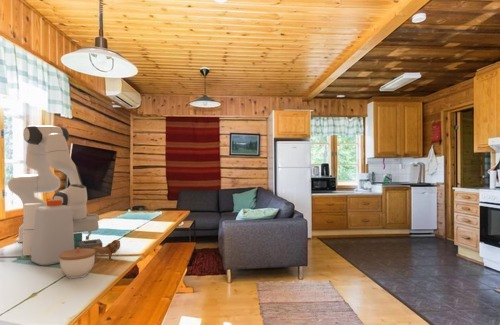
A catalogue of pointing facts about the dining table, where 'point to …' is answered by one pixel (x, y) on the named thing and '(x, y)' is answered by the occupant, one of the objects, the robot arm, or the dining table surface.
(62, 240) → the plastic bottle
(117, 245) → the lion figurine
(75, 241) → the teal pin
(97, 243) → the bore block
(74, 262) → the lidded bowl
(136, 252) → the dining table surface
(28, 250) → the cylindrical container
